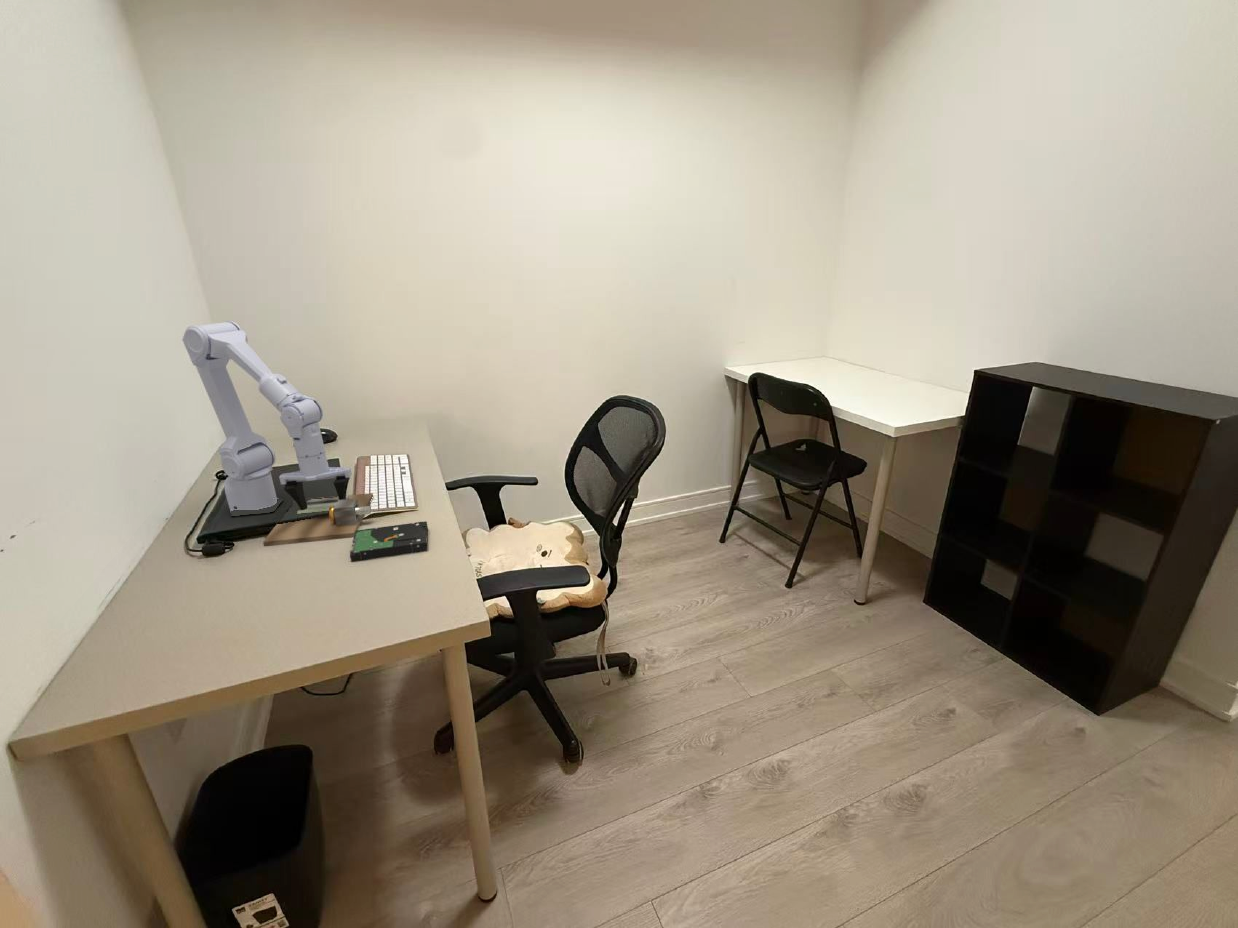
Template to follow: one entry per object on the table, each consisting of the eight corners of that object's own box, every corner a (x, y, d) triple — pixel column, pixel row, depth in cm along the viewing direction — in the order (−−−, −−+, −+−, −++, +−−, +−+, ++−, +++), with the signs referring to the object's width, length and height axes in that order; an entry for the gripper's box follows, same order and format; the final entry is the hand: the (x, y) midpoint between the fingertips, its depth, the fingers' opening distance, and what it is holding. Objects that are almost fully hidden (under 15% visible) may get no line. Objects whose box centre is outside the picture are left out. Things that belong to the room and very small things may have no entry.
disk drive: (428, 531, 127) (356, 541, 123) (426, 520, 126) (354, 529, 122) (428, 553, 118) (350, 564, 114) (426, 541, 117) (348, 552, 113)
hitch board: (264, 546, 121) (258, 523, 119) (296, 503, 141) (291, 483, 139) (354, 536, 124) (349, 514, 122) (373, 496, 144) (369, 477, 142)
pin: (330, 523, 127) (327, 509, 126) (334, 517, 130) (331, 503, 129) (369, 519, 128) (367, 506, 127) (372, 513, 131) (370, 500, 130)
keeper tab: (297, 514, 129) (297, 510, 129) (307, 508, 135) (306, 504, 135) (340, 510, 130) (339, 506, 130) (347, 504, 137) (346, 500, 137)
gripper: (269, 462, 122) (284, 519, 126) (341, 455, 124) (353, 511, 129) (280, 452, 128) (294, 507, 133) (348, 446, 131) (360, 499, 136)
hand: (324, 508), depth 131 cm, fingers open, 7 cm apart
